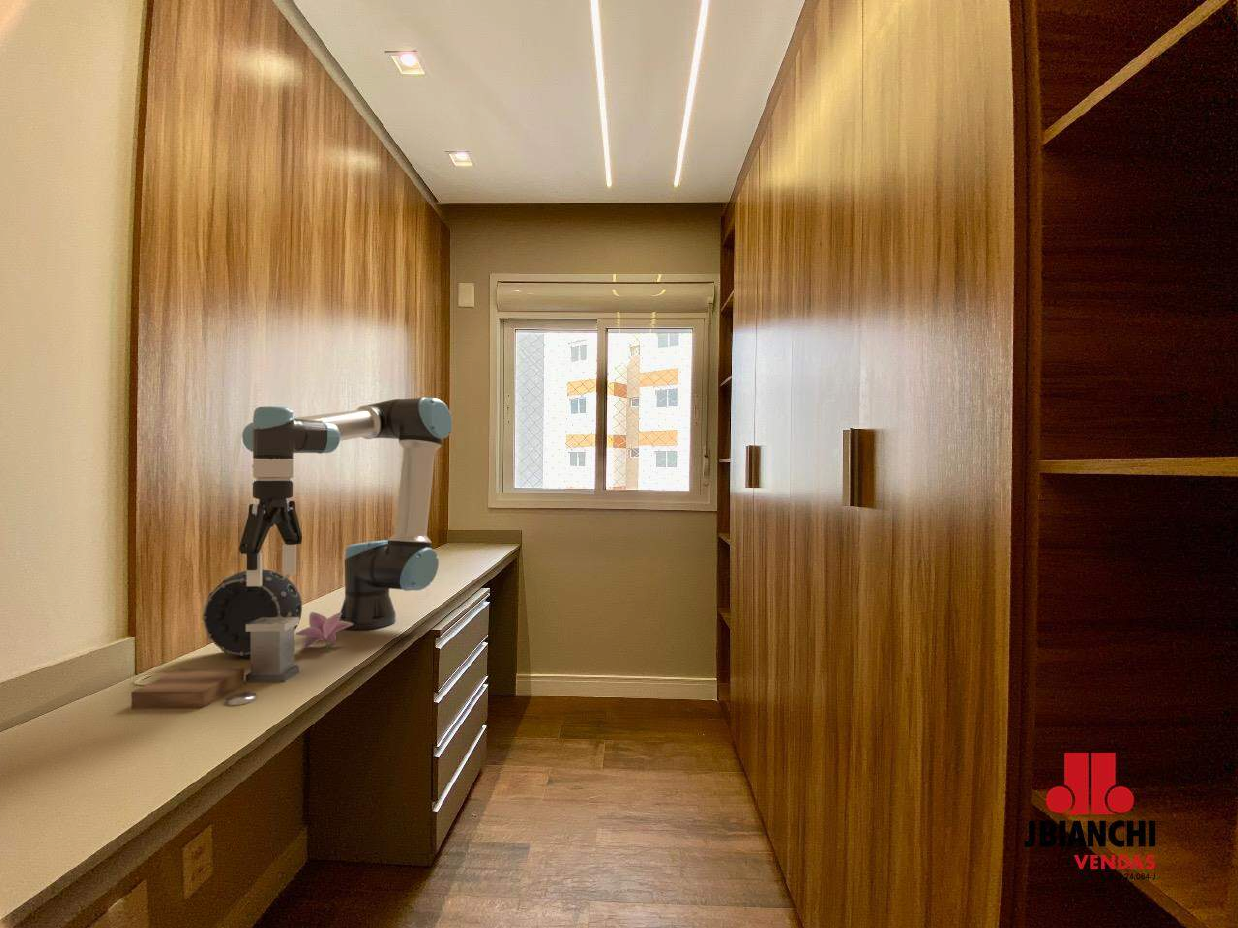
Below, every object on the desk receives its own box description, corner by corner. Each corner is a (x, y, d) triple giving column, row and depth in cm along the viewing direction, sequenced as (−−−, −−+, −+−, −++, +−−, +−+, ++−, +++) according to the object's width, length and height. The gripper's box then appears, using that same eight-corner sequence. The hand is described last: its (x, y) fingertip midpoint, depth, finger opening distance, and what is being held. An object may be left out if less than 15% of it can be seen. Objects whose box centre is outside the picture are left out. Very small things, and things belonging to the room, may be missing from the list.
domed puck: (236, 697, 120) (236, 692, 120) (261, 697, 120) (261, 691, 120) (220, 707, 115) (220, 702, 115) (247, 707, 115) (247, 701, 115)
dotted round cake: (285, 660, 141) (285, 573, 141) (196, 661, 140) (196, 574, 140) (307, 646, 151) (307, 566, 152) (225, 647, 151) (225, 566, 151)
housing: (261, 672, 133) (261, 617, 133) (299, 672, 133) (299, 616, 133) (245, 682, 127) (245, 624, 127) (284, 681, 127) (284, 624, 127)
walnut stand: (180, 683, 126) (180, 668, 126) (244, 682, 127) (244, 668, 127) (131, 708, 113) (131, 692, 113) (202, 707, 114) (202, 691, 114)
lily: (361, 647, 155) (352, 611, 158) (346, 641, 144) (337, 603, 147) (311, 665, 152) (304, 628, 155) (293, 660, 141) (285, 621, 145)
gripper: (286, 478, 143) (285, 569, 143) (218, 480, 118) (217, 591, 118) (318, 478, 143) (318, 569, 143) (257, 481, 118) (257, 591, 118)
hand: (272, 579), depth 130 cm, fingers open, 13 cm apart
